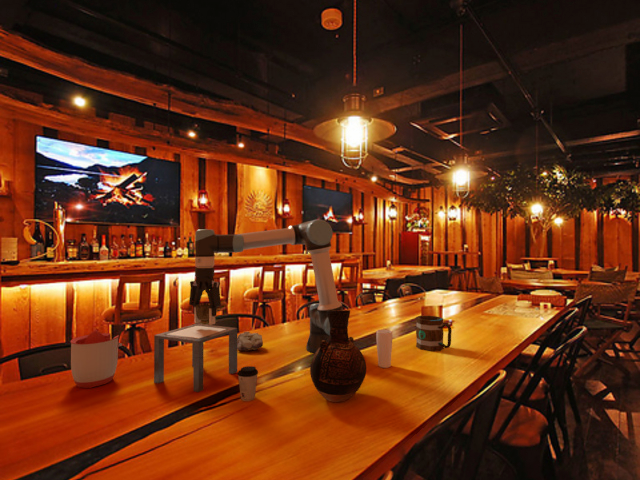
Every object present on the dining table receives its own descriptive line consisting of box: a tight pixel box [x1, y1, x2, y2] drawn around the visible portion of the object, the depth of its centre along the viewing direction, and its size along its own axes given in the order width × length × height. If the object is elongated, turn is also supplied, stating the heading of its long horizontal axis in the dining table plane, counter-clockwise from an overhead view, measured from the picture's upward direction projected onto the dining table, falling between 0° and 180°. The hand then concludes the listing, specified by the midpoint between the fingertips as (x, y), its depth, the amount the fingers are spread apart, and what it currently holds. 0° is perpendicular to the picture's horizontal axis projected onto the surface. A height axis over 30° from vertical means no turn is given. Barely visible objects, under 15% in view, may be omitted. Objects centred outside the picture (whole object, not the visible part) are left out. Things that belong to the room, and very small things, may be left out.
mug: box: [415, 315, 453, 352], centre depth 175 cm, size 20×14×15 cm
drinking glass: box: [375, 329, 393, 369], centre depth 150 cm, size 7×7×15 cm
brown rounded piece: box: [195, 302, 214, 325], centre depth 142 cm, size 8×7×8 cm
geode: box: [237, 331, 264, 352], centre depth 176 cm, size 17×9×15 cm
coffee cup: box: [237, 365, 259, 402], centre depth 119 cm, size 7×7×10 cm
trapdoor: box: [166, 326, 227, 339], centre depth 138 cm, size 17×16×1 cm
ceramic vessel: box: [309, 309, 367, 403], centre depth 119 cm, size 21×18×30 cm
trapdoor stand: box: [153, 323, 238, 393], centre depth 138 cm, size 22×22×18 cm
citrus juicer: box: [70, 329, 123, 389], centre depth 134 cm, size 16×17×20 cm
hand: (204, 323), depth 142 cm, fingers closed on brown rounded piece, 7 cm apart
